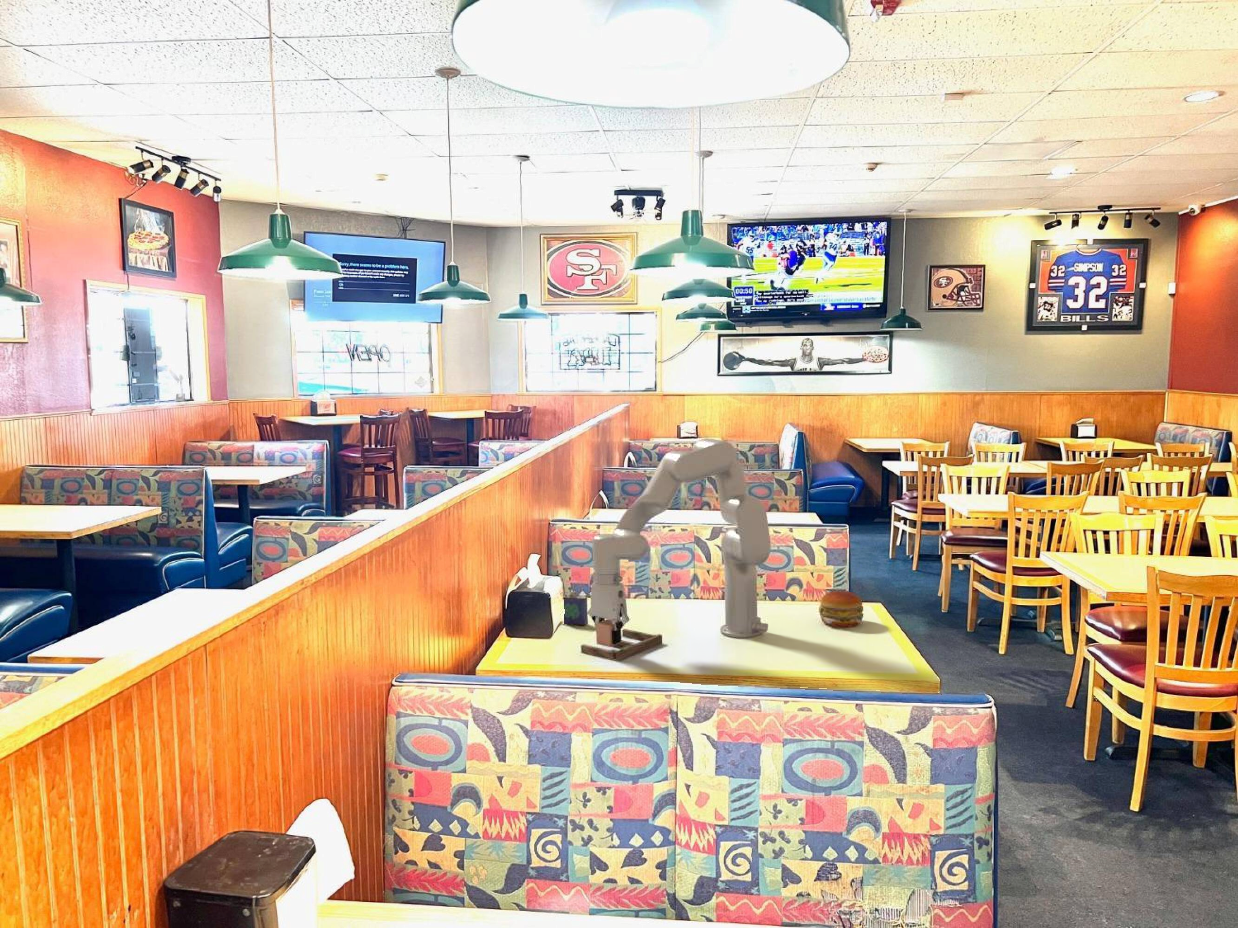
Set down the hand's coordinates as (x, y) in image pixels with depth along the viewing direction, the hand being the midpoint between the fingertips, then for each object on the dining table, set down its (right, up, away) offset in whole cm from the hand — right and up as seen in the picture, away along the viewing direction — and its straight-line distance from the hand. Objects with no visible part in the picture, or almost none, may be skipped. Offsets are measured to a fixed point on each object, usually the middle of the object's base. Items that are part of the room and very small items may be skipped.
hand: (609, 640), depth 251 cm
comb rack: (+3, -3, +4) cm, 5 cm away
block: (0, -1, 0) cm, 1 cm away
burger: (+71, +1, +21) cm, 74 cm away
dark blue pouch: (-11, -1, +29) cm, 31 cm away
